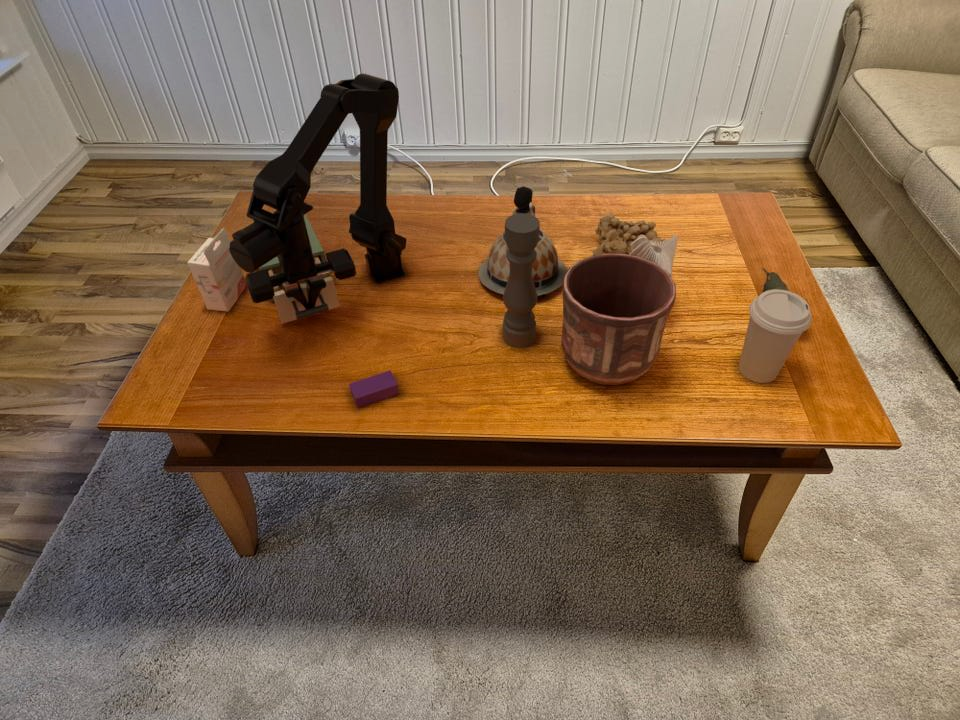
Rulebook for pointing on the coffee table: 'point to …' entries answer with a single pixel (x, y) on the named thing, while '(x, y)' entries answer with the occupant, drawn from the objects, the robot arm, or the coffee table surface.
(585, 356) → the pottery
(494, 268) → the patterned domed piece
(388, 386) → the purple box
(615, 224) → the mineral formation
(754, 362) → the coffee cup
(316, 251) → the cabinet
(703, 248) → the coffee table surface
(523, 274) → the candle holder
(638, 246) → the shell sculpture
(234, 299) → the ink cartridge box
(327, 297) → the drawer
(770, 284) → the sculpture
